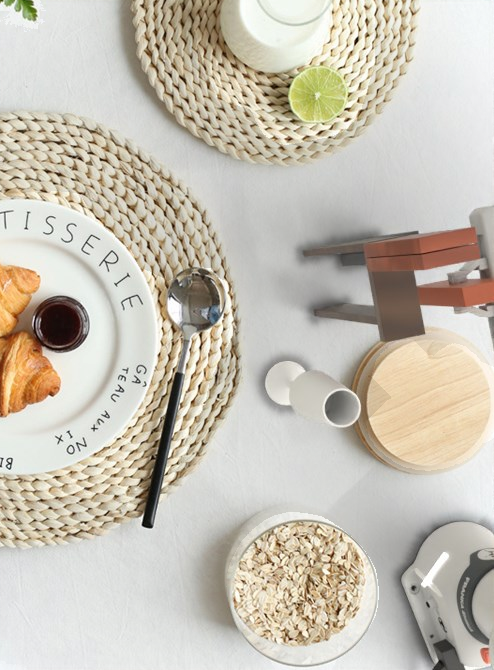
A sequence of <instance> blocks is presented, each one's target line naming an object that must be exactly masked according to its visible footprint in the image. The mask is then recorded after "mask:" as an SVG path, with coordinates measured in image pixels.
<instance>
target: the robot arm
mask: <svg viewBox="0 0 494 670" xmlns="http://www.w3.org/2000/svg"><path fill="white" fill-rule="evenodd" d="M468 220H469V225H470V227H475V229H476V235H477V240H478V242H477V243H473V244H478V246H479V252H480V257H481V259H478V260H473V261H468V262H465V264H463V266H461V267H460V268H459V269H458V270H457V271H451V272H448V273H446V276H447V280H448V281H449V284H459V283H464V282H468V281H467V279H468V275H470V274H471V273H472V272H473V271H478V273H479V279H487V278H494V205H485V206H480V207H476V208H474V210H472V211H471V212H470V214H469V216H468ZM452 308H453V313H454V314H455V315H462V314H470V315H471V314H472V315H474V316H477V317H479V318H487V322H488V327H489V332H490V337H491V338H490V339H491V343H492V348H493V349H492V350H494V302H490V303H485V304H481V305H478V307H476V306H471V307H452ZM400 581H401V585H402V587H403V590H404V593H405V594H406V597H407V599H408V603H409V605H410V607H411V610H412V612H413V615H414V617H415V620H416V622H417V625H418V627H419V630H420V633H421V635H422V638H423V640H424V643H425V645H426V647H427V650H428V653H429V655H430V658H431V660H432V662H433V663H434V666H433V668H431V670H480V669H484V668H488V667H490V668H491V670H494V533H493V532H492V531H491V530H489V529H488V528H486V527H485V526H483V525H481V524H479V523H476V522H472V521H453V522H450V523H447V524H444V525H442V526H439V527H438V528H437V529H435V530H434V531H433V532H432V533H431V534H429V535H428V537H427V538H425V540H424V542H423V543H422V544H421V546H420V548H419V549H418V552H417V555H416V557H415V560H414V561H413V562H412V564H411V565H409V566H408V568H407V569H406V570H405V571H404V572H403V574H402V576H401V580H400ZM413 586H414V588H412V587H413Z"/></svg>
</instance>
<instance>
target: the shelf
mask: <svg viewBox="0 0 494 670" xmlns="http://www.w3.org/2000/svg"><path fill="white" fill-rule="evenodd" d="M477 242H478V240H477V235H476V229H475V227H471V226H470V227H469V226H468V227H460V228H453V229H445V230H438V231H431V232H430V231H429V232H422V233H419V234H414V235H402V236H397V237H391V238H386V239H381V240H376V241H371V242H366V243H363V249H364V254H365V260H366V265H365V266H366V270H367V276H368V280H369V282H368V283H369V288H370V291H371V297H372V302H373V306H374V309H375V314H376V319H377V325H376V326H377V329H378V335H379V340H380V342H381V343H389V342H395V341H401V340H404V339H405V340H406V339H409V338H414V337H418V336H425V335H426V329H425V324H424V318H423V313H422V307H421V306H422V305H420V301H419V295H418V290H417V286H418V285H417V284H418V283H417V280H416V274H415V272H416V271H427V270H433V269H437V268H438V269H439V268H443V267H448V266H453V265H459V264H463V263H467V262H468V261H473V260H478V259H481V257H480V252H479V246H478V244H474V243H477Z"/></svg>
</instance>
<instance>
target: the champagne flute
mask: <svg viewBox="0 0 494 670" xmlns="http://www.w3.org/2000/svg"><path fill="white" fill-rule="evenodd" d="M264 387H265V391H266V393H267V395H268V397H269V398H270V399H271V400H272V401H273V402H274V403H276V404H278V405H281V406H291V408H292V410H293V411H294V412H295V413H296V414H297V416H299V417H300V418H303V419H304V420H307V421H311V422H315V423H319V424H323V425H328V426H331V427H335V428H347V427H350V426H352V425H353V424H355V423H356V422H357V421H358V419H359V417H360V415H361V412H362V405H361V401H360V398H359V397H358V395H357V394H356V393H355V392H354V391H353V390H351V389H349V388H348V387H347V386H345V385H344V384H342V383H341V382H340V381H338V380H336V379H335V378H334V377H332V376H331V375H330V374H328V373H326V372H324V371H322V370H317V369H312V370H307V371H306V370H305V368H304V367H303V366H302V365H301V364H299V363H297V362H296V361H292V360H283V361H279V362H277V363H275V364H274V365H273V366H271V368H270V369H269V370H268V371H267V374H266V376H265V380H264Z"/></svg>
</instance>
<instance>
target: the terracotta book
mask: <svg viewBox="0 0 494 670" xmlns="http://www.w3.org/2000/svg"><path fill="white" fill-rule="evenodd" d="M467 281H468V282H464V283H459V284H449V281H448V279H443V280H439V281H434V282H429V283H424V284H420V285H417V290H418V295H419V301H420V306H429V307H446V308H447V307H449V308H453V307H471V306H473V307H476V306H481V305H485V303H490V302H494V278H487V279H480V278H467Z"/></svg>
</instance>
